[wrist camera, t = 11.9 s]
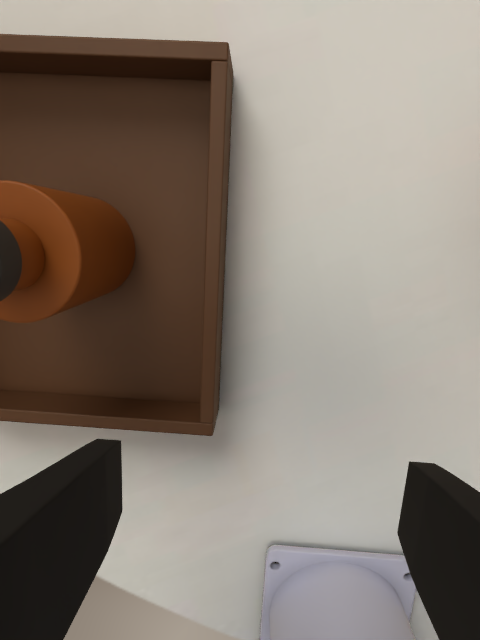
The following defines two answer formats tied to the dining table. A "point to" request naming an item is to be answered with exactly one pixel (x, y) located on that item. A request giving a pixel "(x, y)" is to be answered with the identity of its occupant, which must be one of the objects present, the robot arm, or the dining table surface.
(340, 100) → the dining table surface
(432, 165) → the dining table surface
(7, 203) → the bottle
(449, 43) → the dining table surface
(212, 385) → the tray
